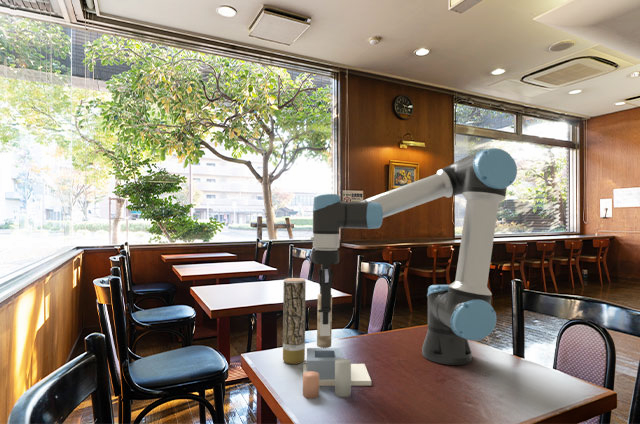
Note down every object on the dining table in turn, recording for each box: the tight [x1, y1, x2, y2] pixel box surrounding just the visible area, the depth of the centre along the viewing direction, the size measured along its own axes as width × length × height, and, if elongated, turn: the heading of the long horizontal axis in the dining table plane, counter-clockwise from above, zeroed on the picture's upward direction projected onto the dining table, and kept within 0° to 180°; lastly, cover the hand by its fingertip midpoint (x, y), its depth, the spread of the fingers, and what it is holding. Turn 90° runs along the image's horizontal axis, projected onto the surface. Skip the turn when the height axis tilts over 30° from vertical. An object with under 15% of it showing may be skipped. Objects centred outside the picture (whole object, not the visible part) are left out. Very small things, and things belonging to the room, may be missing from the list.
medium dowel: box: [334, 357, 352, 398], centre depth 95 cm, size 4×4×8 cm
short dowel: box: [302, 371, 320, 399], centre depth 94 cm, size 4×4×5 cm
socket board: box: [302, 347, 372, 387], centre depth 105 cm, size 18×12×6 cm, turn 92°
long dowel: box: [316, 293, 333, 348], centre depth 106 cm, size 4×4×14 cm
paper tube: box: [282, 277, 307, 365], centre depth 117 cm, size 7×7×25 cm
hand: (324, 332), depth 106 cm, fingers closed on long dowel, 4 cm apart
